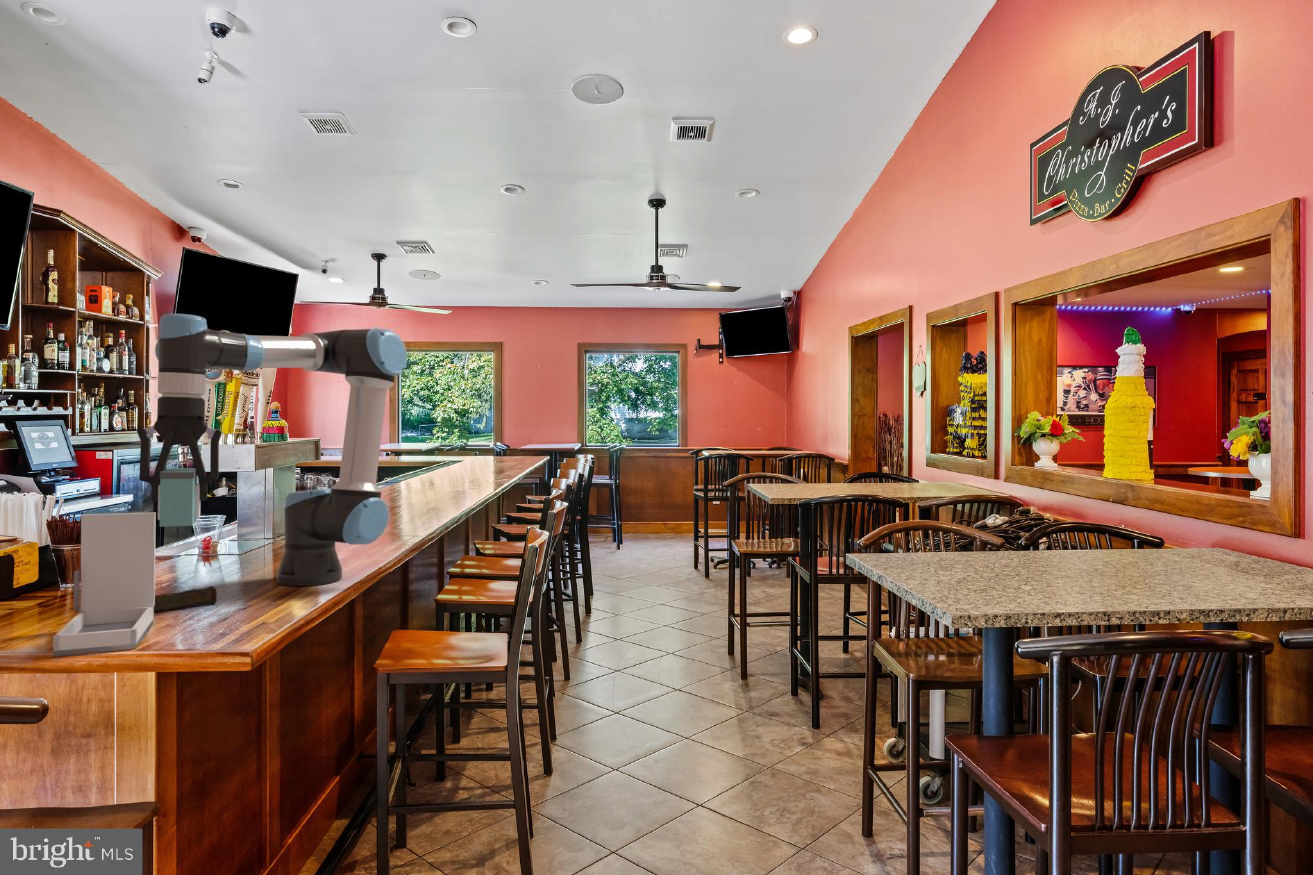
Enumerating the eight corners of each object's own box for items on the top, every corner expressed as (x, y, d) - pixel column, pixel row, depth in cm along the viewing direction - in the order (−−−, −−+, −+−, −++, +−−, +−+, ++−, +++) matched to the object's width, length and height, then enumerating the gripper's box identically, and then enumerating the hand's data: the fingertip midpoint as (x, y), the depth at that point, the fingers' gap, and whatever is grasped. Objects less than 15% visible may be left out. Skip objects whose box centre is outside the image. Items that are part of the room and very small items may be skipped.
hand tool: (211, 601, 159) (212, 581, 159) (217, 605, 157) (218, 584, 157) (106, 618, 145) (107, 595, 145) (111, 622, 143) (111, 599, 142)
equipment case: (154, 622, 142) (155, 512, 142) (136, 648, 127) (137, 525, 126) (76, 628, 137) (76, 514, 136) (46, 657, 121) (47, 528, 121)
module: (198, 518, 141) (199, 468, 141) (192, 525, 132) (193, 472, 132) (167, 519, 139) (167, 468, 139) (158, 526, 130) (159, 472, 130)
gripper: (237, 398, 143) (235, 514, 143) (127, 394, 134) (125, 517, 135) (235, 398, 136) (233, 519, 137) (119, 393, 128) (116, 522, 128)
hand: (179, 518), depth 136 cm, fingers closed on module, 5 cm apart
